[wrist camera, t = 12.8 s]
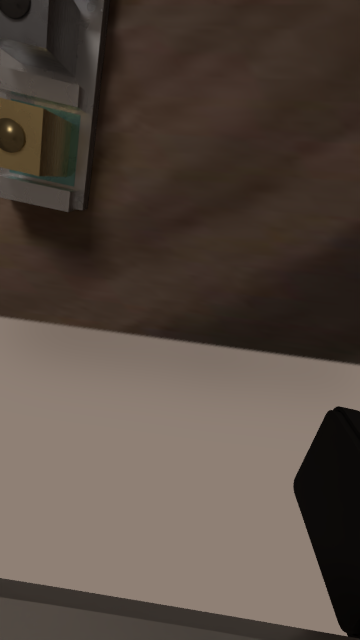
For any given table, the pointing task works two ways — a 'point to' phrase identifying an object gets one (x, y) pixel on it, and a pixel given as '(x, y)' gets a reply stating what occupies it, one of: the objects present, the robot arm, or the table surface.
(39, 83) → the rail
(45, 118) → the yellow tall block
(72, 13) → the dark knobbed cube
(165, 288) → the table surface
